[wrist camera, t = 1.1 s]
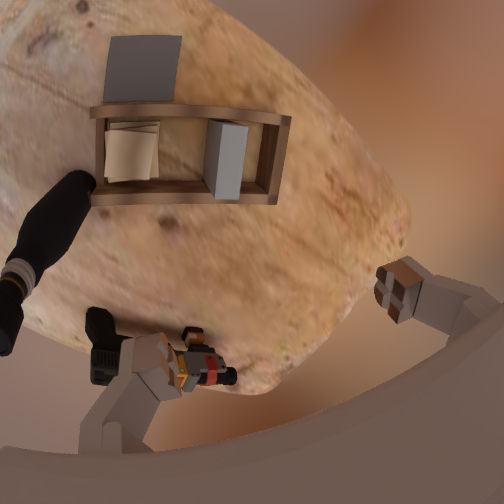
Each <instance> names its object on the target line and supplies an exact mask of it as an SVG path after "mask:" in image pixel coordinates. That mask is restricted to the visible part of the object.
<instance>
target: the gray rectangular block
mask: <svg viewBox="0 0 504 504" xmlns="http://www.w3.org/2000/svg"><path fill="white" fill-rule="evenodd" d="M247 135H248V127H247V126H244V125H241V124H238V123H234V122H231V121H224V120H211V119H209V121H208V130H207V139H206V149H205V159H204V170H203V179H204V181H205V183H206V184H207V186H208V188H209V190H210V192H211V193H212V195H213V197H214V199H233V200H239V194H240V187H241V179H242V171H243V164H244V156H245V149H246V142H247Z"/></svg>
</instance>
